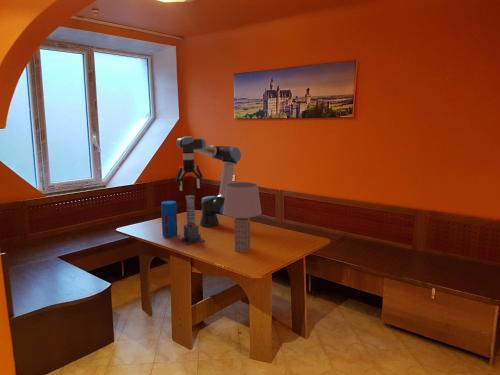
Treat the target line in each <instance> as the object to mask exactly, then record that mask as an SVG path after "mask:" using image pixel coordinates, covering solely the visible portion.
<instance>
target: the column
mask: <svg viewBox="0 0 500 375" xmlns="http://www.w3.org/2000/svg"><path fill="white" fill-rule="evenodd" d="M184 198H186V200H185V202H186V219H187V220H186V225H187V226H188V227H191V224H196V220H195V219H196V217H195V215H196V214H195V212H196V210H195V208H196V207H195V198H196V196H195V195H193V194H192V195H191V194H190V195H185V197H184Z"/></svg>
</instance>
